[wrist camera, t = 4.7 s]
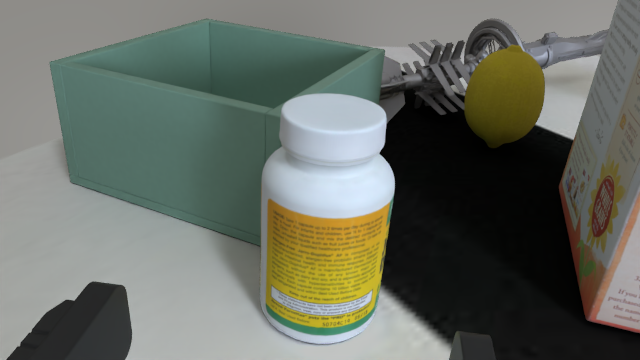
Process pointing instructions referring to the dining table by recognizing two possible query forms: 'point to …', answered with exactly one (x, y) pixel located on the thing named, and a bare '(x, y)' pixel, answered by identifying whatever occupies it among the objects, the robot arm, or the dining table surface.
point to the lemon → (504, 96)
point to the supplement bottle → (325, 218)
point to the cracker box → (608, 180)
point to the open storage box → (196, 114)
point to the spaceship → (471, 63)
